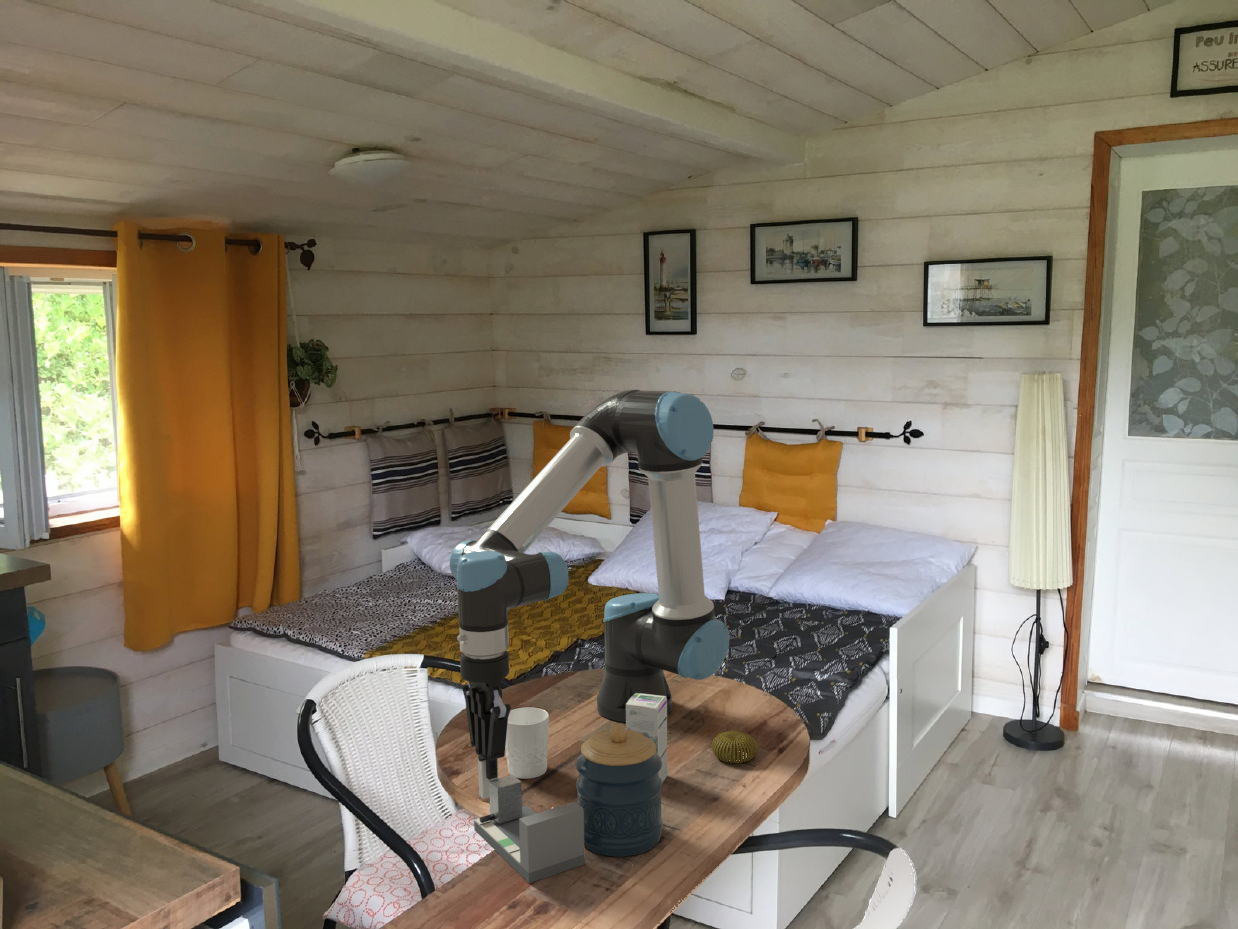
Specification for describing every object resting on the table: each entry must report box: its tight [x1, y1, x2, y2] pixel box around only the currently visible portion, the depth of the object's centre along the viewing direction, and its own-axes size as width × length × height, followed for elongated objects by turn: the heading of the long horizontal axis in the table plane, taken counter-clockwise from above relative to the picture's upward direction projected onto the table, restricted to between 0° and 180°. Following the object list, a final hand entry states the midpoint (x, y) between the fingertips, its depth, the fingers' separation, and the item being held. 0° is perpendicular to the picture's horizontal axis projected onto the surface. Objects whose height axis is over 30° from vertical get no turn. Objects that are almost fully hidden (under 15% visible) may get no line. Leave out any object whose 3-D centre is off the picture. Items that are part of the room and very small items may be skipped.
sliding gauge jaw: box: [479, 774, 523, 824], centre depth 156 cm, size 3×6×6 cm, turn 123°
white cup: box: [505, 706, 550, 780], centre depth 176 cm, size 8×8×10 cm
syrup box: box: [625, 693, 669, 784], centre depth 172 cm, size 6×6×14 cm
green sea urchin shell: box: [711, 730, 758, 764], centre depth 181 cm, size 8×4×8 cm
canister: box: [575, 724, 664, 857], centre depth 153 cm, size 13×13×18 cm
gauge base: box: [473, 801, 586, 884], centre depth 151 cm, size 18×9×8 cm, turn 33°
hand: (488, 794), depth 162 cm, fingers closed
